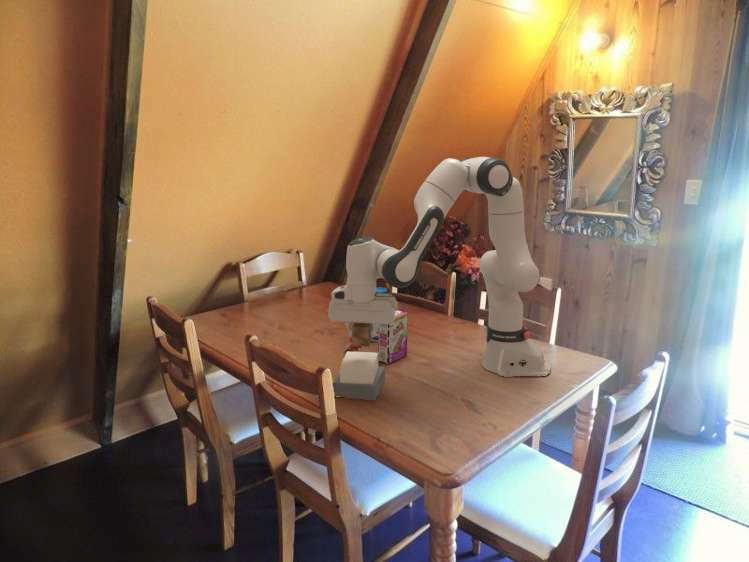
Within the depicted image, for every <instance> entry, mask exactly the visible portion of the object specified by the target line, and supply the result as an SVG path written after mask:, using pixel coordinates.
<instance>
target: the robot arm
mask: <svg viewBox="0 0 749 562" xmlns="http://www.w3.org/2000/svg"><path fill="white" fill-rule="evenodd" d="M512 175H513V174H512V170H511V168H510V166H509V165H508V164H507V163H506V162H505V161H504V160H502V159H500V158H498V157H489V156H478V157H472V156H471V157H465V158H464V159H462V160H459V159H457V158H451V157H450V158H449V157H447V158H446V159H445V158H444V159H443V160H442V161H441V162H440V163H438V165H436V166H435V168H434V169H433V170H432V171H431V173H429V175H428V176H427V177H426V179H425V180H424V182H423V183H422V184H421V185H420V187H419V189H418V190H417V192H416V194H415V196H414V199H413V207H414V209H415V213H416V214H417V224H416V225H415V228H414V229H413V231H412V233H411V234H410V236H409V238H408V239H407V241H406V243H405V244H404V246H402V248H401V249H397V248H395V247H392V246H388V245H386V244H383V243H381V242H378V241H377V240H375V239H374V238H373V237H370V236H365V237H364V236H362V237H357V238H355V239H352V240H351V241H350V242H349V243H348V245H347V249H346V256H345V257H346V260H345V263H346V264H345V266H346V267H345V269H346V273H347V279H346V285H341V286H338V287H336V288H335V289H333V290H332V291H331V294H330V296H331V300H330V301H329V304H328V309H327V310H328V312H327V313H328V315H327V318H328V320H329V321H330V322H343V323H344V326H345V327H346V329H347V331H348V336H349V337H352V326H351V324H352V323H372V324H373V327H375V328H374V329H373V330H370V332H369V334H370V335H369V336H370V337H375V330H376V329H377V327H378V326H379V324H389V325H391V324H392V323H393V322H394V321H395V311H396V310H395V308H396V305H397V302H396V301H397V299H396V297H395V296H394V295H392V294H391V292H390V293H388V292H387V293H386V294H385V293H376V287H377V280H378V279H383V280H384V281H385V282H386V283H387V284H388V285H389V286H390V287H392V288H397V289H403V288H407V287H409V286H410V285H412V284H413V283H414V282H415V281H416V279H417V276H418V274H419V271H420V268H421V264H422V261H423V259H424V258H425V255H426V254H427V252H428V250H429V248H430V247H431V246H432V244H433V241H434V240H435V238H436V236H437V235H438V233H439V231H440V230H441V228H442V225H443V223H444V220H445V218H446V216H447V214H448V213H449V211H450V209H452V207H453V205H454V204H455V202H456V201H457V199H458V198H459V196H460V195H461V194H462V193H463V192H465V191H466V192H470V193H473V194H479V195H481V194H485V197H486V199H487V215H488V217H487V218H488V220H487V221H488V236H489V239H490V241H491V242H492V244H493V246H494V250H488V251H486V252H485V253H483V254H482V256H481V258H480V260H479V265H478V266H479V271H480V273H481V274H482V277H483V279H484V284H485V289H486V294H487V298H488V299H487V300H488V321H487V322H488V324H486V330H485V331H486V332H485V334H486V335H485V340H486V347H485V351H484V357H483V360H482V362H481V365H482V367H483V368H484V370H485V369H486V370H487V371H488V372H491V373H495V374H496V373H497V374H496V375H498V376H500V377H502V376H504V378H516V377H515V376H538V375H539V376H542V375H547V374H549V373H550V374H551V371H550V369H551V365H550V363H549V362H548V360H546V359H545V356H544V352H543V351H542V349H541V347H540V346H538V345H537V344H536V343H535V342H534V341H532V340H531V339H530V338H531V334H530V332H529V330H528V328H527V327H526V326H525V327H524V326H523V320H524V319H523V317H524V316H523V315H524V305H523V301H522V299H521V298H520V294H519V293H526V292H531V290H533V289H534V288H535V287H536V286H537V284H538V283H539V280H540V271H539V268H538V266H537V265H536V264H535V262H534V261H533V258H532V256H531V252H530V250H529V247H528V246H529V245H528V242H527V239H526V238H527V237H526V231H525V228H526V227H525V208H524V207H525V206H524V197H523V191H522V190H523V189H522V187H521V183H520V181H519V179H517V178H516V177H514V176H512ZM546 371H547V372H546ZM550 374H549V375H550ZM513 376H514V377H513Z"/></svg>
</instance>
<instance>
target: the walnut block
mask: <svg viewBox="0 0 749 562" xmlns="http://www.w3.org/2000/svg"><path fill="white" fill-rule="evenodd" d="M351 327H352V336H351V338H352V343H351V345H352V346H362V347H369V346H370V345H371V343H372V342H373V341H372V337H370V336H369V335H370V334H369V332H370V330H372V323H355V322H353V324H352V326H351Z"/></svg>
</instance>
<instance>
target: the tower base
mask: <svg viewBox="0 0 749 562" xmlns="http://www.w3.org/2000/svg"><path fill="white" fill-rule="evenodd" d="M385 377H386V367H385V366H378V369H377V373H376V376H375V379H374V383H373V384H354V383H340V372H339V373H338V375H337V376H336V377H335V379H334V381H333V382H332V388H333V387H334V392H335V397H334V398H337V397H336V396H340V397H348V398H347V399H349V398H357V399H356V400H360V399H366V400H365V401H372V400H375V401H376V400H377V399H378V398H377V397H378V396H379V394H378V393H380V392H379V391H381V389H382V386H383V385H384V383H385V381H386V378H385Z"/></svg>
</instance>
